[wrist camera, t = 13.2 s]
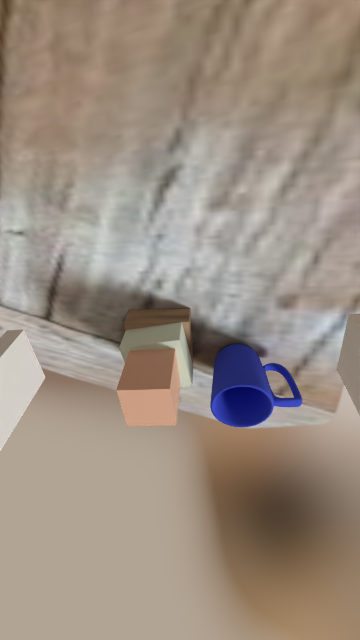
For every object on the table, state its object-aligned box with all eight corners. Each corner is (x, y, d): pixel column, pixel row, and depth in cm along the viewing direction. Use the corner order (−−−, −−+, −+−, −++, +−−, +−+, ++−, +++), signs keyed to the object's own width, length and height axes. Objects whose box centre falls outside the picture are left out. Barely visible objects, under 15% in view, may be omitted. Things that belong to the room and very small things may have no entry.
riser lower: (129, 308, 47) (123, 323, 44) (190, 306, 46) (188, 321, 43) (138, 355, 52) (133, 372, 49) (193, 354, 51) (192, 371, 48)
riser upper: (125, 330, 44) (119, 347, 41) (181, 322, 43) (179, 339, 40) (141, 372, 49) (136, 391, 45) (193, 366, 47) (192, 385, 44)
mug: (284, 378, 52) (299, 429, 43) (210, 377, 53) (210, 426, 44) (292, 337, 47) (309, 386, 39) (210, 337, 48) (210, 384, 40)
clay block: (129, 350, 41) (116, 390, 35) (175, 348, 40) (169, 388, 35) (137, 384, 44) (127, 425, 39) (180, 383, 44) (176, 425, 38)
